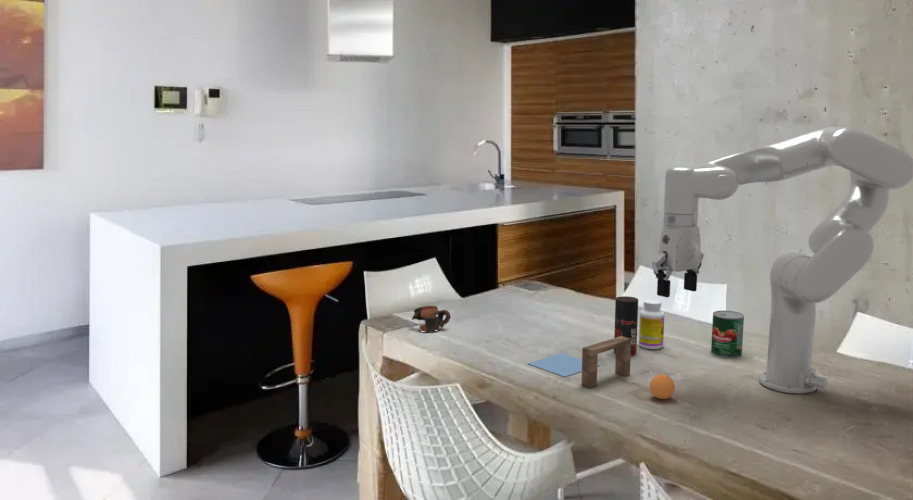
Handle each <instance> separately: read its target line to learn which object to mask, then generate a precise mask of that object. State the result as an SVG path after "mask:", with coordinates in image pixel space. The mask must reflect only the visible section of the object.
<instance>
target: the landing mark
mask: <svg viewBox="0 0 913 500" xmlns="http://www.w3.org/2000/svg"><path fill="white" fill-rule="evenodd" d="M529 364H530V365H529ZM527 365H529V366H532V367H534V368H535V367H536V368H537V367H538V369H540V368H541V369H540V370H543V371H547V372H550V373H551V372H552V373H551V374H555V375H557V374H558V376H560V377H563V378H567V377H570V376H573V374H574V375H576V374H579V373H582V358H578V357H575V356H572V355H569V354H566V353H563V352H561V353H557V354H555V355H552V356H548V357H545V358H541V359H537V360H534V361H531V362H528V363H527ZM599 367H600V364H597V368H599Z"/></svg>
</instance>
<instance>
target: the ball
mask: <svg viewBox="0 0 913 500" xmlns="http://www.w3.org/2000/svg"><path fill="white" fill-rule="evenodd" d="M649 390H650V393H651V394H652V396H654V397H655V398H657V399H659V400H667V399H669V398H671V397H672V396H673V395H674V393H675V390H676V385H675V382H674V381H673V379H672V378H671V376H668V375H666V374H657V375H655V376H654V377H652V379H651V380H650V383H649Z"/></svg>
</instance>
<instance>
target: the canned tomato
mask: <svg viewBox="0 0 913 500" xmlns="http://www.w3.org/2000/svg"><path fill="white" fill-rule="evenodd" d="M711 323H712V327H711V328H712V329H711V346H710V347H711V349H710V353H711V355H713V356H714V357H718V358H721V359H738V358H741V357H742V356H743V354H742V353H743V343H744V342H743V341H744V339H743V338H744V324H745V314H743V313H741V312H739V311H734V310H715V311H713V312H712V322H711Z"/></svg>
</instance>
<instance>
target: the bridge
mask: <svg viewBox="0 0 913 500" xmlns="http://www.w3.org/2000/svg"><path fill="white" fill-rule="evenodd" d="M615 348H616V354H615V364H614V365H615V369H614V374H616V375H620V376H621V377H622V376H623V377H627V376H629V375H631V358H632V356H631V339H630V338H627V337H623V336H620V337H617V338H611V339H607V340H603V341H601V342H598V343H593V344H589V345H587V346H584V347H582V351H581V352H582V354H581V355H582V356H581V359H582V372H581V385H582V386H584V387H587V388H589V389H592V388H596V387H598V367H597V365H598V362H599V361H598V358H599V357H598V356H599V354H602V353H605V352H608V351H611V350H614V349H615Z"/></svg>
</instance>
